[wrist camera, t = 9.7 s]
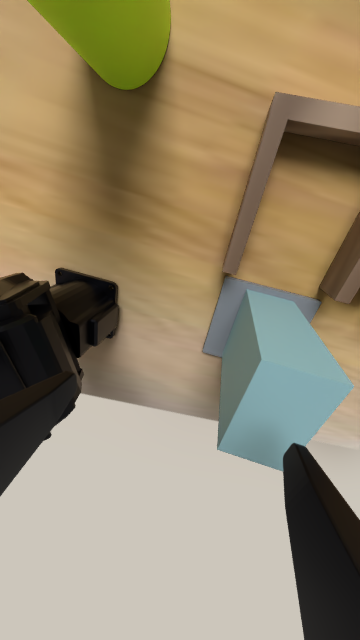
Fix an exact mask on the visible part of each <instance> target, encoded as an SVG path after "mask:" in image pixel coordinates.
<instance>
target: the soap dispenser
mask: <svg viewBox="0 0 360 640" xmlns="http://www.w3.org/2000/svg"><path fill="white" fill-rule="evenodd" d="M27 1H28V2H29V3H30V4H31V5H32V6H33V7H34V8H35V9H36V10H37V11H38V12H39V13H40V14H41V15H42V16H43V17H44V18H45V19H46V20H47V21H48V23H49V24H50V25H51V26H52V27H53V28H54V29H55V30H56V31H57V32H58V33H59V34H60V35H61V36H62V37H63V38H64V39H65V40H66V41H67V42H68V43H69V44H70V45H71V47H72V48H73V49H74V50H75V51H76V52H77V53H78V54H79V55H80V56H81V57H82V58H83V59H84V60H85V61H86V62H87V63H88V64H89V65H90V66H91V67H92V68H93V69H94V70H95V72H96V73H97V74H98V75H99V76H100V77H101V78H102V79H103V80H104V81H106V82H107V83H108V84H110V85H111V86H113V87H115V88H118V89H123V90H130V89H135V88H138V87H140V86H142V85H143V84H145V83H146V82H147V81H148V80H149V79H150V78H151V77H152V76H153V75H154V74H155V72H156V71H157V69H158V68H159V66H160V64H161V62H162V60H163V57H164V55H165V52H166V49H167V45H168V40H169V34H170V24H171V11H170V1H169V0H27Z"/></svg>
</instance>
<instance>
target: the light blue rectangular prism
mask: <svg viewBox="0 0 360 640" xmlns="http://www.w3.org/2000/svg"><path fill="white" fill-rule="evenodd" d="M353 387H354V385H353V384H352V383H351V381H350V380H349V378H348V377H347V376H346V374H345V373H344V371H343V370H342V368H341V367H340V366H339V364H338V363H337V361H336V360H335V359H334V357H333V356H332V354H331V353H330V352H329V350H328V349H327V347H326V346H325V345H324V343H323V342H322V340H321V339H320V338H319V336H318V335H317V333H316V332H315V330H314V329H313V328H312V326H311V325H310V323H309V322H308V321H307V319H306V318H305V316H304V315H303V314H302V312H301V311H300V309H299V308H298V307H297V305H296V304H295V302H294V301H290V300H286V299H282V298H279V297H275V296H271V295H267V294H263V293H260V292H256V291H252V290H248V289H246V292H245V295H244V297H243V300H242V303H241V305H240V308H239V311H238V313H237V316H236V319H235V321H234V324H233V327H232V329H231V332H230V335H229V337H228V340H227V343H226V345H225V348H224V351H223V353H222V371H221V389H220V407H219V425H218V444H217V450H220V451H223V452H226V453H229V454H232V455H235V456H238V457H241V458H244V459H247V460H250V461H253V462H256V463H259V464H262V465H265V466H268V467H271V468H274V469H277V470H280V471H283V456H284V453H285V452H286V451H287V449H288V448H289V447H290V445H291V444H292V443H297V444H300V445H303V446H306V444H307V443H308V442H309V441H310V440H311V438H312V437H313V436H314V435H315V434H316V432H317V431H318V430H319V429H320V427H321V426H322V425H323V424H324V423H325V421H326V420H327V419H328V418H329V417H330V415H331V414H332V413H333V412H334V410H335V409H336V408H337V407H338V406H339V404H340V403H341V402H342V401H343V400H344V398H345V397H346V396H347V395H348V393H349V392H350V391H351V390H352V389H353Z"/></svg>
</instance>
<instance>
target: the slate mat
mask: <svg viewBox="0 0 360 640" xmlns="http://www.w3.org/2000/svg"><path fill="white" fill-rule="evenodd" d="M246 289H248V290H252V291H256V292H260V293H263V294H267V295H271V296H275V297H279V298H282V299H286V300H290V301H294V302H295V304H296V305H297V307H298V308H299V309H300V311H301V312H302V314H303V315H304V316H305V318H306V319H307V321H308V322H309V323H310V322H311V320H312V319H313V317H314V315H315V313H316V312H317V310H318V308H319V306H320V305H321V303H322V302H321V301H320V300H318V299H314V298H310V297H306V296H302V295H299V294H295V293H291V292H287V291H283V290H279V289H275V288H271V287H267V286H263V285H260V284H256V283H252V282H248V281H244V280H240V279H236V278H232V277H228V276H226V277H225V280H224V283H223V286H222V290H221V293H220V296H219V299H218V302H217V306H216V309H215V312H214V315H213V318H212V322H211V325H210V328H209V331H208V335H207V338H206V341H205V344H204V347H203V352H204V353H208V354H211V355H214V356H218V357H221V358H222V353H223V351H224V348H225V345H226V343H227V340H228V337H229V335H230V332H231V329H232V327H233V324H234V321H235V319H236V316H237V313H238V311H239V308H240V305H241V303H242V300H243V297H244V295H245V292H246Z"/></svg>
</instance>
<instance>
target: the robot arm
mask: <svg viewBox="0 0 360 640" xmlns="http://www.w3.org/2000/svg"><path fill="white" fill-rule="evenodd" d="M60 272H61V273H62V275H61V273H60ZM55 278H56V285H53V286H51V287H50V284H49V282H48V281H33V279H30V278H29V277H28V276H26V275H25V274H24V273H15V274H12V275H8V276H5V277H1V278H0V496H1V495H2V493H3V492H4V491H5V489H6V488H7V487H8V486H9V484H10V483H11V482H12V480H13V479H14V478H15V477H16V475H17V474H18V473H19V471H20V470H21V469H22V467H23V466H24V465H25V464H26V462H27V461H28V460H29V458H30V457H31V456H32V454H33V453H34V452H35V451H36V449H37V448H38V447H39V445H40V444H41V443H42V442H43V441H44V440H47V439H49V438H50V437H51V433H50V431H51V430H52V428H53V427H54V426H55V425H57V424H58V423H59V422H61V421H62V420H63V419H65V418H66V417H67V416H68V415H69V414H70V413H71V412H72V411H73V409H74V408H75V402H76V400H77V398H78V396H79V394H80V393H81V387H82V383H81V380H82V378H83V375H84V373H83V370H82V369H81V368H80V366H79V364H78V361H77V358H79V357H81V356H82V355H83V354H84V353H85V352H86V351H87V350H88V349H89V348H90V347H91V346H97V345H99V344H100V343H101V342H102V341H103V340H104V339H105V337H106V338H112V337H113V336H114V335H115V327H116V326H117V320H118V304H117V292H118V286H117V284H116V283H115V282H112V281H108V280H105V279H101V278H97V277H94V276H90V275H86V274H83V273H79V272H75V271H72V270H68V269H64V268H58V269H56V270H55ZM111 286H113V288H114V289H112V288H111ZM109 333H110V334H111V335H110V334H109ZM283 475H284V495H285V496H284V497H285V509H286V516H287V523H288V530H289V537H290V544H291V551H292V558H293V565H294V571H295V578H296V585H297V592H298V599H299V606H300V613H301V620H302V627H303V633H304V640H360V520H359V518H358V517H357V516H356V514H355V513H354V512H353V510H352V509H351V508H350V506H349V505H348V504H347V502H346V501H345V500H344V498H343V497H342V495H341V494H340V493H339V491H338V490H337V489H336V487H335V486H334V485H333V483H332V482H331V480H330V479H329V478H328V476H327V475H326V474H325V472H324V471H323V470H322V468H321V467H320V466H319V464H318V463H317V461H316V460H315V459H314V457H313V456H312V455H311V453H310V452H309V451H308V449H307V448H306V447H305V446H303V445H300V444H297V443H292V444H291V445H290V447H289V448H288V449H287V451H286V452H285V453H284V456H283Z"/></svg>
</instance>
